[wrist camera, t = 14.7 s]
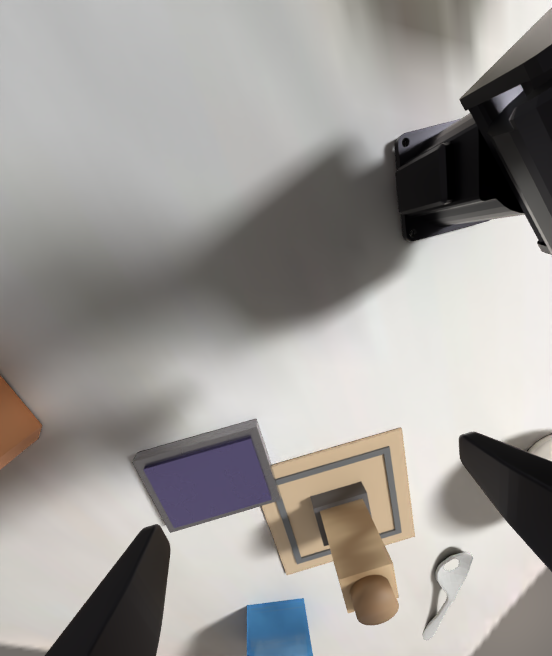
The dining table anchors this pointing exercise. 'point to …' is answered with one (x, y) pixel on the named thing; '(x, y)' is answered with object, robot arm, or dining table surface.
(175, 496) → the ink pad
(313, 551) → the print sheet
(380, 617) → the stamp
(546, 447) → the lidded jar
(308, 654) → the perfume bottle
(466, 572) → the spoon
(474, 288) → the dining table surface
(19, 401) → the whiskey bottle
